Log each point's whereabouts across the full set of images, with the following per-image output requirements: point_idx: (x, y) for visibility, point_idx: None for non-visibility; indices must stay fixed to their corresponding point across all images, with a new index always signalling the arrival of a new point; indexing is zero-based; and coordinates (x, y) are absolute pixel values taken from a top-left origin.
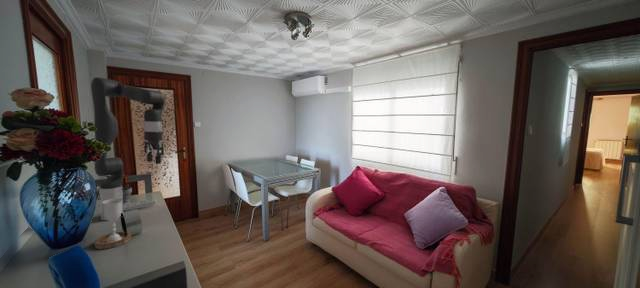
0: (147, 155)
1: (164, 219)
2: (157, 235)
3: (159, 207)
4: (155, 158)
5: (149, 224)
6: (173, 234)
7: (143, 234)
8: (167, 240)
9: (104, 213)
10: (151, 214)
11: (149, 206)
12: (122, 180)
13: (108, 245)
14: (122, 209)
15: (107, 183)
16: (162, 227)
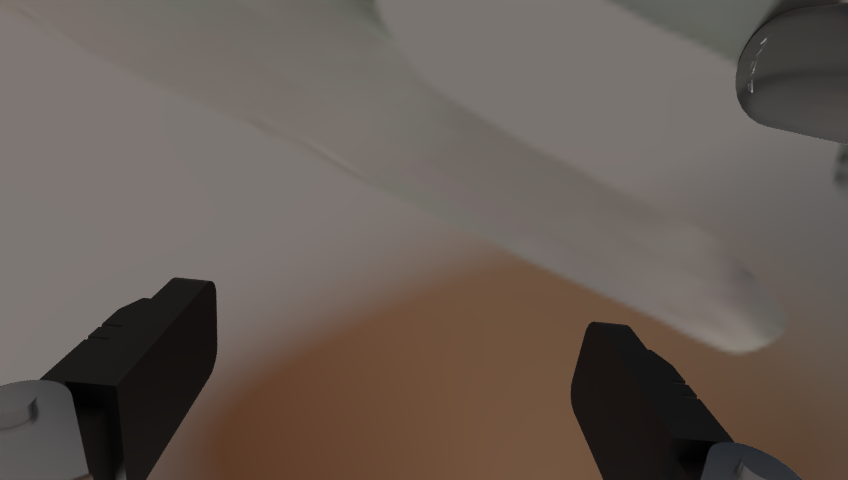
0: (674, 423)
1: (458, 208)
2: (266, 48)
3: (670, 307)
4: (142, 346)
5: (464, 120)
6: (204, 102)
7: (349, 15)
8: (152, 36)
9: None
10: (605, 217)
11: (746, 289)
12: None
13: None
14: (775, 118)
15: None
16: (353, 131)
